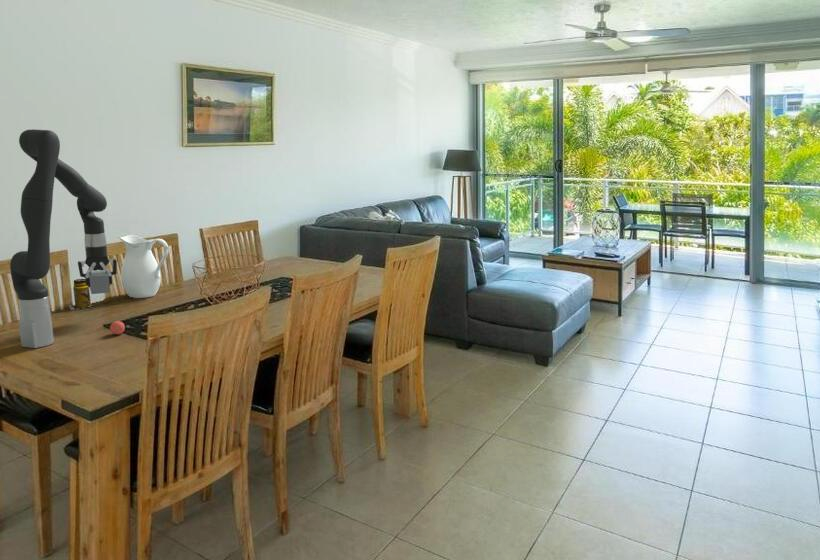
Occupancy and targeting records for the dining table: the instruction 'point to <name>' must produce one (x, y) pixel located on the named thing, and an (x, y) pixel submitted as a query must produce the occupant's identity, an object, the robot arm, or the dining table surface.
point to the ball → (117, 327)
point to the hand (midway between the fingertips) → (99, 285)
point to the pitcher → (141, 267)
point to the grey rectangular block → (99, 282)
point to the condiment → (81, 294)
